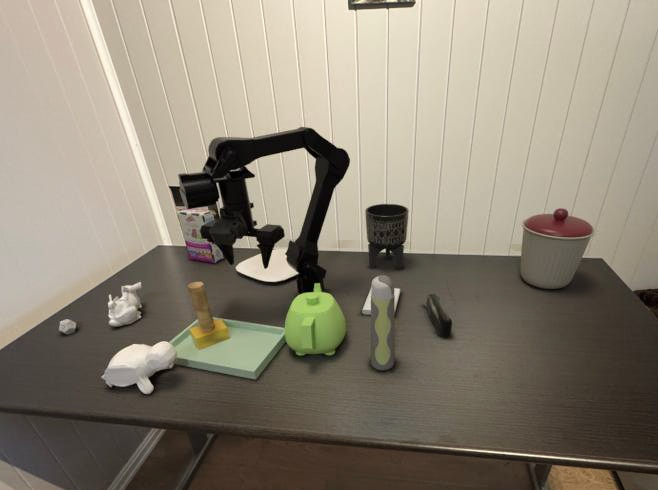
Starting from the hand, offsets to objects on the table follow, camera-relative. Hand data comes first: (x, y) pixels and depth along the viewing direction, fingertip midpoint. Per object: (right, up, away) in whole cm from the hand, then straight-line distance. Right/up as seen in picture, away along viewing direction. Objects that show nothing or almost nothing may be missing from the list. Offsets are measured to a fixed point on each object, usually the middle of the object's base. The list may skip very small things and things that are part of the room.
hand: (249, 266), depth 90 cm
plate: (0, +3, +30) cm, 30 cm away
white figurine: (-31, -13, +6) cm, 34 cm away
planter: (+35, +4, +31) cm, 46 cm away
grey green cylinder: (+32, -22, -12) cm, 40 cm away
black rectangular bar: (+45, -13, +2) cm, 47 cm away
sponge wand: (-7, -17, -4) cm, 19 cm away
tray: (-3, -19, -6) cm, 20 cm away
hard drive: (+32, -9, +9) cm, 35 cm away
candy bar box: (-26, +7, +37) cm, 46 cm away
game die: (-44, -16, +1) cm, 46 cm away
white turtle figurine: (-16, -25, -14) cm, 33 cm away
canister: (+80, -2, +19) cm, 82 cm away
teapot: (+17, -18, -5) cm, 26 cm away
